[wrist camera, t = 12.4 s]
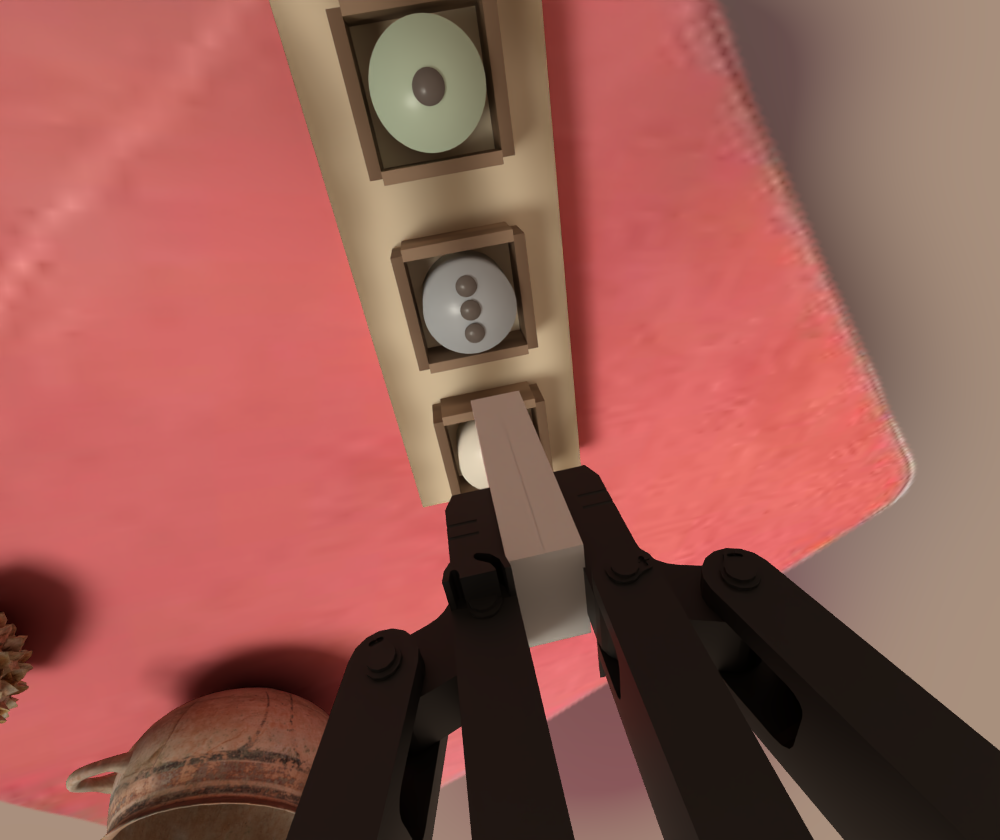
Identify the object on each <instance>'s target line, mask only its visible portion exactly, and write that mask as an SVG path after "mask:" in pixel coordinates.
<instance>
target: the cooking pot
mask: <svg viewBox="0 0 1000 840" xmlns="http://www.w3.org/2000/svg"><path fill="white" fill-rule="evenodd" d="M328 719H329V715H328V714H327V713H326V712H325V711H324V710H322V709H321V708H319V707H318V706H317V705H315V704H314V703H312V702H310V701H308V700H306V699H304V698H302V697H300V696H297V695H294V694H291V693H288V692H285V691H281V690H277V689H274V688H269V687H250V688H240V689H231V690H225V691H221V692H216V693H212V694H209V695H206V696H203V697H200V698H197V699H194V700H192V701H190V702H188V703H186V704H184V705H182V706H180V707H178V708H176V709H174V710H172V711H171V712H169V713H168V714H167V715H165V716H164V717H162V718H161V719H160V720H158V721H157V722H156V723H154V724H153V725H152V726H151V727H150V728H149V729H148V730H147V731H146V732H145V733H144V734H143V735H142V737H141V738H140V739H139V740H138V741H137V742H136V743H135V744H134V746H133V747H132V748H131V749H130V750H129V752H127V753H123V754H120V755H116V756H113V757H110V758H106V759H103V760H100V761H97V762H94V763H91V764H88V765H86V766H83V767H81V768H79V769H77V770H76V771H74V772H73V773H72V774H71V775H70V776H69V777H68V779H67V781H66V787H67V789H68V790H69V791H70V792H101V793H107V794H111V798H110V804H109V811H108V821H107V834H106V835H105V836H104V837H103V838H102V839H101V840H286V838H287V835H288V832H289V829H290V826H291V823H292V821H293V818H294V815H295V812H296V809H297V806H298V804H299V801H300V798H301V795H302V792H303V789H304V787H305V784H306V781H307V778H308V775H309V772H310V770H311V767H312V764H313V761H314V758H315V755H316V753H317V750H318V747H319V744H320V741H321V738H322V736H323V733H324V730H325V727H326V724H327V721H328ZM104 772H114V773H111V774H109V775H105V776H102V777H96V778H89V777H92V776H95V775H97V774H101V773H104Z"/></svg>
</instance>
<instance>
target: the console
mask: <svg viewBox="0 0 1000 840" xmlns="http://www.w3.org/2000/svg"><path fill="white" fill-rule="evenodd" d="M269 2H270V5H271V9H272V12H273V15H274V19H275V22H276V25H277V28H278V32H279V35H280V38H281V42H282V45H283V48H284V52H285V55H286V58H287V61H288V65H289V68H290V71H291V75H292V78H293V81H294V84H295V88H296V91H297V94H298V98H299V101H300V104H301V107H302V111H303V114H304V117H305V121H306V124H307V127H308V130H309V134H310V137H311V140H312V144H313V147H314V150H315V153H316V157H317V160H318V163H319V167H320V170H321V173H322V176H323V180H324V183H325V186H326V190H327V193H328V196H329V199H330V203H331V206H332V209H333V213H334V216H335V219H336V222H337V226H338V229H339V232H340V236H341V239H342V242H343V245H344V249H345V252H346V255H347V259H348V262H349V265H350V268H351V272H352V275H353V278H354V282H355V285H356V288H357V291H358V295H359V298H360V301H361V305H362V308H363V311H364V314H365V318H366V321H367V324H368V328H369V331H370V334H371V337H372V341H373V344H374V347H375V351H376V354H377V357H378V360H379V364H380V367H381V370H382V374H383V377H384V380H385V383H386V387H387V390H388V393H389V397H390V400H391V403H392V406H393V410H394V413H395V416H396V420H397V423H398V426H399V429H400V433H401V436H402V439H403V443H404V446H405V449H406V452H407V456H408V459H409V462H410V466H411V469H412V472H413V475H414V479H415V482H416V485H417V489H418V492H419V495H420V498H421V502H422V505H423V507H427V506H432V505H436V504H441V503H446V502H449V501H450V499H451V497H452V496H453V495H457V494H462V493H466V492H471V491H475V490H480V489H478V488H476V487H474V486H472V485H471V484H470V483H469V482H468V481H467V480H466V479H465V478H464V476H463V475H462V472H461V469H460V464H459V456H458V449H457V441H456V434H457V429H458V426H459V424H460V423H461V422H466V421H471V420H474V415H473V410H472V406H471V400H476V399H481V398H486V397H490V396H495V395H500V394H505V393H509V392H514V391H519V392H520V395H521V397H522V399H523V402H524V404H525V406H526V409H527V411H528V414H529V416H530V418H531V421H532V423H533V426H534V428H535V430H536V433H537V435H538V437H539V440H540V442H541V445H542V447H543V449H544V452H545V454H546V457H547V459H548V461H549V464H550V466H551V468H552V471H553V472H555V471H560V470H564V469H569V468H573V467H578V466H581V463H580V451H579V439H578V427H577V415H576V403H575V391H574V380H573V368H572V356H571V344H570V332H569V320H568V308H567V296H566V284H565V272H564V260H563V249H562V237H561V225H560V213H559V201H558V189H557V177H556V165H555V153H554V141H553V129H552V118H551V106H550V94H549V82H548V70H547V58H546V46H545V34H544V22H543V10H542V0H269ZM415 13H431V14H435V15H439V16H441V17H444V18H446V19H448V20H450V21H451V22H453V23H454V24H456V25H457V26H458V27H459V28H461V29H462V30H463V31H464V32H465V34H466V35H467V36H468V37H469V38H470V40H471V41H472V42H473V44H474V46H475V48H476V49H477V51H478V53H479V56H480V58H481V61H482V64H483V67H484V72H485V77H486V99H485V105H484V109H483V113H482V115H481V118H480V120H479V122H478V124H477V126H476V128H475V129H474V131H473V132H472V133H471V135H470V136H469V137H468V138H467V139H466V140H465V141H463V142H462V143H461V144H459V145H458V146H456V147H455V148H452V149H450V150H447V151H444V152H438V153H426V152H420V151H417V150H414V149H411V148H409V147H407V146H405V145H404V144H402V143H401V142H399V141H398V140H397V139H396V138H394V137H393V136H392V135H391V134H390V133H389V132H388V130H387V129H386V128H385V127H384V125H383V124H382V122H381V121H380V119H379V117H378V115H377V113H376V111H375V108H374V106H373V103H372V99H371V96H370V90H369V80H368V77H369V65H370V59H371V56H372V52H373V50H374V47H375V45H376V43H377V41H378V39H379V38H380V36H381V35H382V34H383V32H384V31H385V30H386V29H387V28H388V27H389V26H390V25H391V24H392V23H394V22H395V21H397V20H398V19H400V18H402V17H404V16H407V15H411V14H415ZM466 250H473V251H477V252H481V253H483V254H485V255H487V256H488V257H490V258H491V259H493V260H494V261H495V262H496V263H497V264H498V265H499V267H500V268H501V270H502V271H503V273H504V274H505V276H506V278H507V279H508V281H509V283H510V284H511V286H512V288H513V290H514V293H515V297H516V303H517V311H516V317H515V321H514V324H513V326H512V328H511V330H510V332H509V333H508V335H507V336H506V337H505V338H504V339H503V340H502V341H501V342H500V343H499V344H497V345H496V346H494V347H493V348H491V349H489V350H486V351H483V352H480V353H473V354H465V353H459V352H455V351H452V350H450V349H448V348H446V347H444V346H443V345H441V344H440V343H439V342H438V341H437V340H435V338H434V337H433V336H432V335H431V333H430V332H429V330H428V328H427V326H426V323H425V320H424V315H423V297H422V289H423V283H424V279H425V276H426V274H427V272H428V270H429V269H430V268H431V266H432V265H433V264H434V263H435V262H436V261H437V260H438V259H439V258H441V257H442V256H444V255H446V254H450V253H455V252H461V251H466Z"/></svg>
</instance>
